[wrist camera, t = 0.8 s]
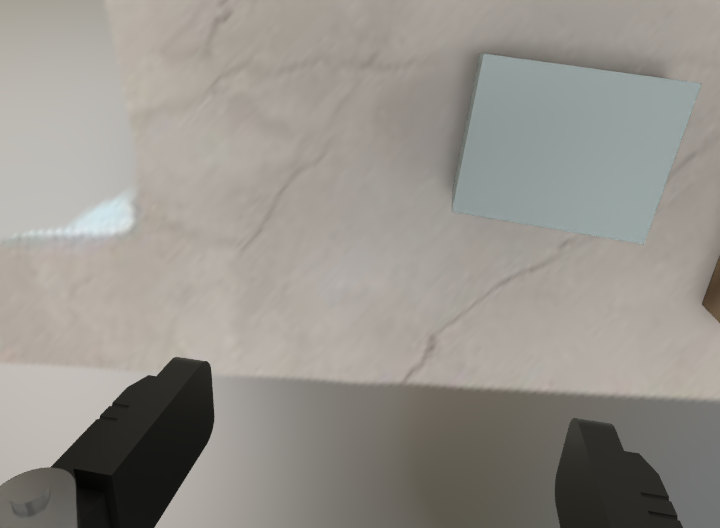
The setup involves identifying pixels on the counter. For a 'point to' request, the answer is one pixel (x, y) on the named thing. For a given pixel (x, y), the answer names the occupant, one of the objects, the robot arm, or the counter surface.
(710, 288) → the walnut board
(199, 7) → the counter surface
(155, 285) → the counter surface
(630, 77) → the grey block
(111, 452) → the robot arm
